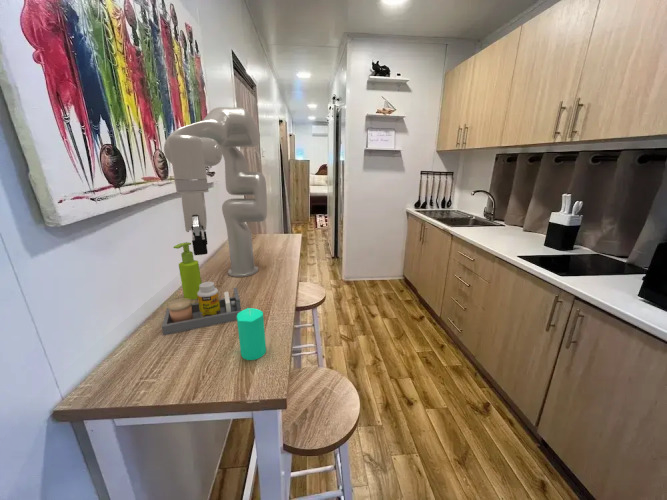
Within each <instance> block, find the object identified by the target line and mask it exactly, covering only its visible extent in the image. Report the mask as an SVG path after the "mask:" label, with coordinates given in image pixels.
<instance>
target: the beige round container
mask: <svg viewBox="0 0 667 500" xmlns="http://www.w3.org/2000/svg"><path fill="white" fill-rule="evenodd" d="M191 304H192V300H190V299H188V298H184V297H182V298H177V299H174V300H172V301H169V302H168V304H167V308H168V309H169V311H170V317H171V322H172V323H175V322H180V321H185V320H191V319H193V313H192V307H191Z"/></svg>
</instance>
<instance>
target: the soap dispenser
mask: <svg viewBox="0 0 667 500" xmlns="http://www.w3.org/2000/svg"><path fill="white" fill-rule="evenodd" d="M190 245H192V242H188V241H186V242H182V243H178V244H176V245H174V246H173V247H172V248H173V249H180V248H182V249H183V251H182V252H181V254H180V255H181V260H182V261H181V262H179V263H178V269H179V276H180V280H181V281H180V282H181V286H182V293H183V298H188V299H190V300H191V301H192V300H196V299H197V300H198V295H197V293H198V291H199V290H200V289H199V285H200V284H201V283H202V278H201V277H202V276H201V272H200V264H199V261H198V260H196V259H194V251H191V250H190Z"/></svg>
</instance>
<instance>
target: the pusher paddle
mask: <svg viewBox="0 0 667 500" xmlns="http://www.w3.org/2000/svg"><path fill="white" fill-rule="evenodd" d="M223 294H224V298H225V303H226V311H227V312H231V306H230V299H229V297H230V294H229V291H224V292H223Z"/></svg>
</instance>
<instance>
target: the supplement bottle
mask: <svg viewBox="0 0 667 500" xmlns="http://www.w3.org/2000/svg"><path fill="white" fill-rule="evenodd" d="M199 289H200V290H199V291H198V293H197V295H198V298H197V301H198V302H197V303H199V309H200V316H201V317H206V316H212V315H217V314H220V313H221V311H220V303H219V299H220V296H219V289H218V288H217V287H215V282H213V281H205V282H201V284H200V285H199Z"/></svg>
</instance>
